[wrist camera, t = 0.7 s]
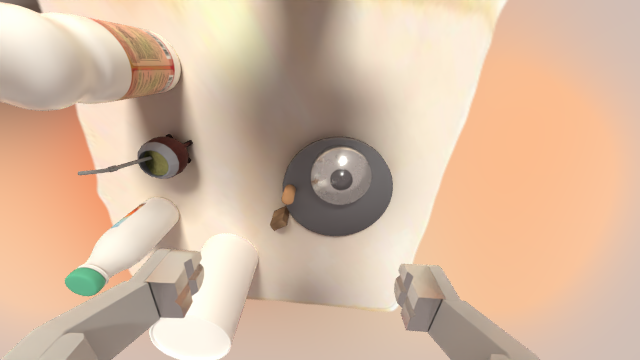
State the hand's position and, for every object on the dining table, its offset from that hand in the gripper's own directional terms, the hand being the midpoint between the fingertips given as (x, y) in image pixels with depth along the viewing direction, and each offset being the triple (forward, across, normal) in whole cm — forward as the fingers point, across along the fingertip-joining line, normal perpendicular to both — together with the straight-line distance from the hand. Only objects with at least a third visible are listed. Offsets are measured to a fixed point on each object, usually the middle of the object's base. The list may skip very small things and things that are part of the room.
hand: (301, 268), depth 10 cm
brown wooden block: (+37, +6, +22) cm, 44 cm away
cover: (+34, -5, +11) cm, 36 cm away
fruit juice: (+37, +28, -6) cm, 47 cm away
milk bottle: (+37, +33, +24) cm, 55 cm away
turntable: (+37, -5, +15) cm, 40 cm away
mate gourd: (+37, +27, +9) cm, 47 cm away
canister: (+37, +19, +36) cm, 55 cm away
